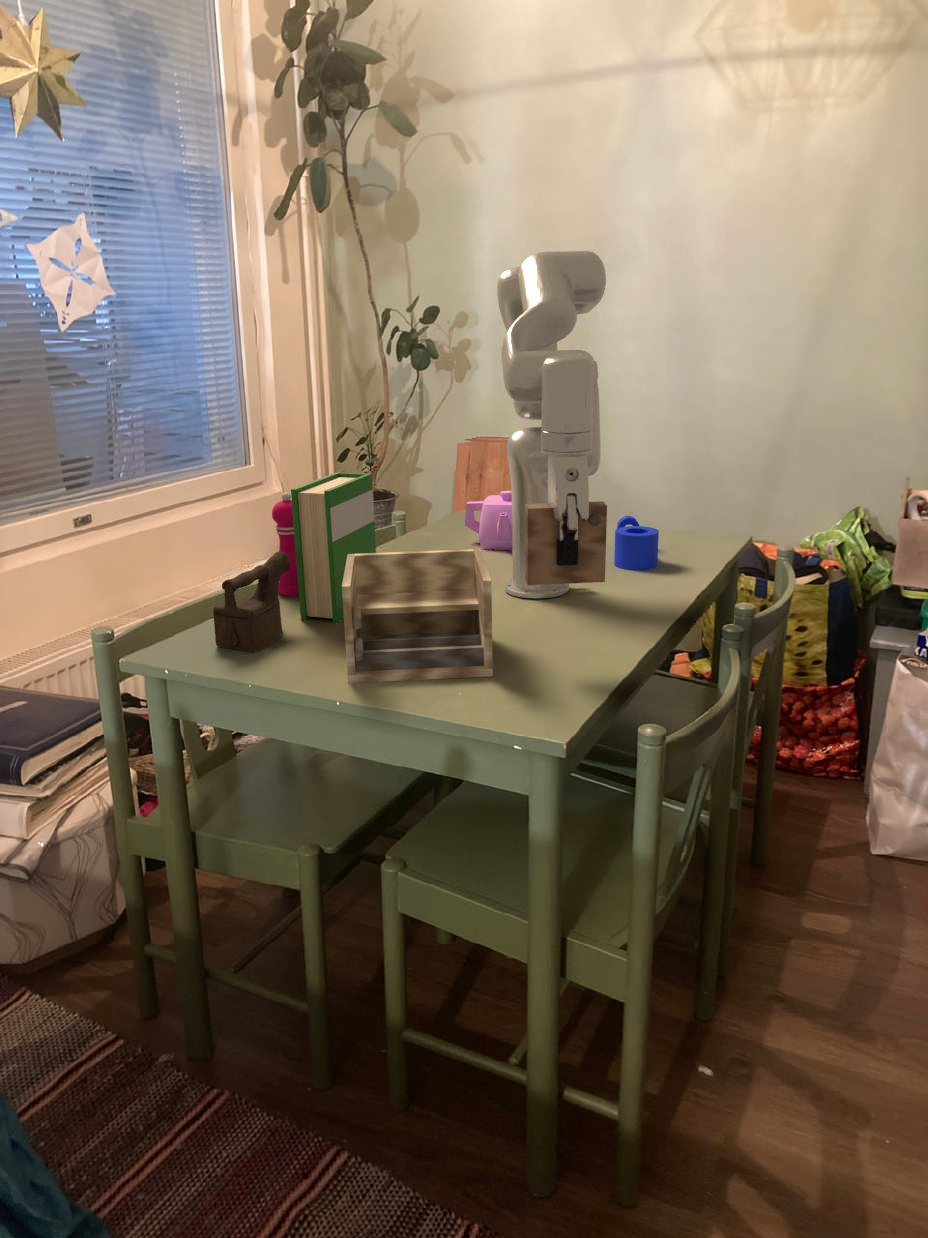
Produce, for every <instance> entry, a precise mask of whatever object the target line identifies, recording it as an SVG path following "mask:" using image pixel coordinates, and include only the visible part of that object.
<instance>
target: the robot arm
mask: <svg viewBox="0 0 928 1238" xmlns="http://www.w3.org/2000/svg"><path fill="white" fill-rule="evenodd" d="M497 280H498V281H497V287H496V289H497V290H496V293H497V303H498V308H499V309H498V310H499V312H500V316H501V318H502V322H503V324H504V328H505V329H506V332H505V335H504V338H503V341H502V346H501V365H502V375H503V377H502V378H503V383H504V388H505V391H506V393H507V394H508V396H509V397H510V398H511V399H512V400H513V407H514V412H515V413H516V415H517V416H518V417H520V418H522V419H524V420H529V421H530V420H532V421H534V420H535V421H536V420H538V421H539V420H541V423H540V424H541V426H532V427H531V426H530V427H524V428H520V429H518V430H516V431H514V432H512V434H510V436H509V437H508V440H507V443H506V455H507V456H506V457H507V463H508V469H509V476H510V478H509V479H510V487H511V490H510V491H512V550H511V551H512V579H509V580H507V581H505V583H504V591H505V592H506V593H507V594H509V595H510V596H514V597H517V598H522V599H523V598H525V599H550V598H556V597H559V596H562V595H566V593H568V592H569V590H570V583H569V584H545V585H527V583H526V580H525V504H543V503H550V504H551V506H552V507H553V513H554V517H555V519H556V520H558V521H559V539H558V540H557V561H556V563H557V565H558V566H566V565H577V564H578V514H579V516H580V517H581V518H582V519H583V520H584V521H587V520H588V518H589V502H590V499H589V497H590V495H589V494H590V493H589V492H590V491H589V488H590V487H589V477H590V476H591V477H592V475H593V476H594V475H595V474H596V473H597V471H598V470H599V467H600V464H601V463H600V462H601V419H600V418H601V417H600V415H601V414H600V413H601V412H600V392H599V391H600V390H599V383H598V379H599V372H598V371H599V367H598V363H597V362H598V361H596V360H595V359H594V357H593V356H592V355H593V354H591V353H590V352H589V351H586V350H581V349H564V350H563V349H562V350H561V349H558V343H559V342H561V341H562V340H564V339H565V338H567V337H568V336H569V334H571V333H572V332H573V330H574V328H575V326H576V324H577V321H578V315H583V314H588V313H589V312H592V310H593V309H595V307H597V305H598V304H599V303H600V302H601V300H602V299H603V297H604V294H605V291H606V284H607V274H606V269H605V265H604V263H603V260H602V259H601V257H600V256H599V255H598V254H597V253H595V252H593V251H589V250H570V251H563V250H562V251H560V250H559V251H542V252H537V253H533V254H531V255H530V256H528V257H527V258H525V260H523V262H522V263H521V265H520V266H516V267H512V268H509V269H507V270H505V271H503V272H502V273H501V274H500V275H499V277H498V279H497ZM578 510H579V513H578ZM562 513H563V514H562ZM562 516H567V519H563V517H562ZM563 524H567V526H564V528H563Z"/></svg>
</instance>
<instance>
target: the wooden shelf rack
mask: <svg viewBox="0 0 928 1238" xmlns="http://www.w3.org/2000/svg"><path fill="white" fill-rule="evenodd" d="M492 591H493V590H492V579H491V576H490V572H489V570H488V567H487V564H486V561H485V558H484V555H483V552H482V548H474V549H473V548H468V549H449V550H446V549H445V550H443V549H442V550H419V551H418V550H417V551H395V552H390V551H389V552H376V553H363V554H348V555H347V561H346V566H345V572H344V577H343V583H342V597H343V612H344V620H343V625H344V641H345V642H344V643H345V655H346V656H345V657H346V658H345V659H346V670H347V671H346V672H347V683H348V684H353V683H354V684H355V683H356V684H357V683H358V684H359V683H376V682H395V681H398V682H399V681H417V680H418V681H420V680H421V681H422V680H438V679H439V680H441V679H442V680H443V679H444V680H445V679H462V678H464V679H465V678H483V677H486V678H487V677H494V674H493V672H494V671H493V668H494V667H493V664H494V663H493V662H494V661H493V610H492V609H493V607H492V605H493V604H492V603H493V602H492V600H493V598H492Z"/></svg>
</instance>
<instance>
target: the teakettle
mask: <svg viewBox="0 0 928 1238" xmlns="http://www.w3.org/2000/svg"><path fill="white" fill-rule="evenodd" d="M499 493H500V494H496V495H495V494H490V495H487V497H486V498H485V499H483V500H481V501H479V500H477V501H475V500H474V501H467V502H466V507H465V515H464V517H465V518H464V526H465V527H466V528H468V529H470V530H472V531H473V532H475V533H476V534H478V540H479V543H480V549H481V550H486V549H489V550H488V551H490V550H491V551H494V550H495V551H496V550H497V551H512V490H502V491H500V492H499ZM475 509H480V510H481V512H480V519H479V521H478V520H477V519H475ZM492 549H494V550H492Z"/></svg>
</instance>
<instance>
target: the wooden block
mask: <svg viewBox="0 0 928 1238" xmlns="http://www.w3.org/2000/svg"><path fill="white" fill-rule="evenodd" d="M578 513H579V510H578ZM562 514H563V513H562ZM607 516H608V505H607V504H606V503H605V501H602V500H601V501H599V500H598V501H589V518H588V520H587V521H584V520H583V519H582V518H581V517H580V516H579V514H578V564H577V565H566V566H558V565H557V563H556V561H557V540H558V539H559V521H558V520H556V519H555V517H554V513H553V507H552V506H551V504H550V503H543V504H525V580H526V583H527V585H545V584H569V585H570V584H587V583H588V584H589V583H605V582H606V559H607V558H606V556H607V555H606V553H607V525H608V518H607ZM562 517H563V519H567V516H562ZM564 526H567V524H563V528H564Z"/></svg>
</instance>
